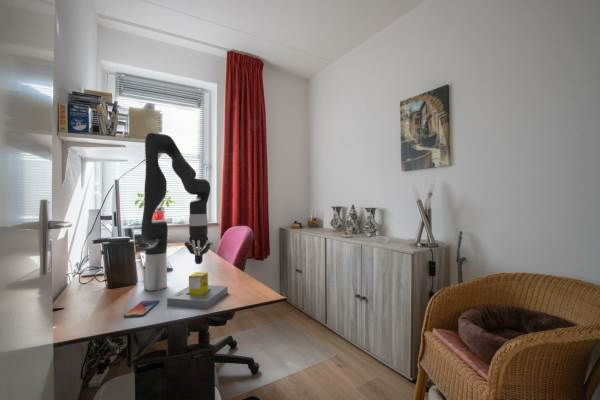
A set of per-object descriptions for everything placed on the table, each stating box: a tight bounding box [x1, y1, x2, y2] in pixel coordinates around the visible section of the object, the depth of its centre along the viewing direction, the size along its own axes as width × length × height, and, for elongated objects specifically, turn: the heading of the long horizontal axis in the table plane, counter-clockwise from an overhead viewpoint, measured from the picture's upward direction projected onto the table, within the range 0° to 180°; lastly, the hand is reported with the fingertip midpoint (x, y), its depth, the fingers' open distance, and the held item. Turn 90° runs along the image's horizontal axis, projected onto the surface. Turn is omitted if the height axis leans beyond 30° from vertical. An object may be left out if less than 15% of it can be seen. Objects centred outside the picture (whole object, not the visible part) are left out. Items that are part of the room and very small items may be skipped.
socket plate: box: [166, 284, 229, 310], centre depth 117 cm, size 18×18×3 cm
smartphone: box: [123, 299, 160, 319], centre depth 107 cm, size 7×15×1 cm, turn 6°
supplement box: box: [188, 271, 209, 296], centre depth 117 cm, size 6×6×11 cm
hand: (198, 263), depth 117 cm, fingers closed
